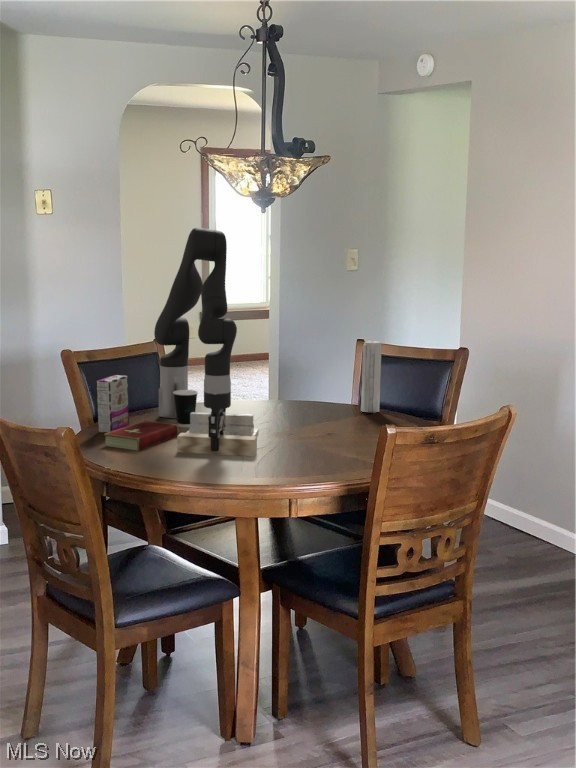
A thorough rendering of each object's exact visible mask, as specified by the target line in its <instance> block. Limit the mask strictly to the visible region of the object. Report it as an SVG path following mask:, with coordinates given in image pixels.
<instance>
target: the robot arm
mask: <svg viewBox="0 0 576 768" xmlns="http://www.w3.org/2000/svg"><path fill="white" fill-rule="evenodd" d="M227 246H228V245H227V237H226V235H225V233H224V232H223V231H220V230H216V229H212V228H211V229H209V228H204V227H194V228H192V229H191V231H190V232H189V234H188V237H187V240H186V244H185V246H184V251H183V255H182V259H181V262H180V266H179V268H178V270H177V274H176V275H175V278H174V280H173V282H172V285H171V289H170V291H169V294H168V297H167V300H166V303H165V304H164V307H163V309H162V311H161V312H160V315H159V316H158V318H157V321H156V323H155V327H154V331H153V332H154V334H153V335H154V339H155V342H156V343H157V344H158V345H161V346H164V347H165V346H166V347H167V346H175V347H174V348H173V350H172V351H170V352H168V353H167V354H164V355H162V356H160V359H159V378H160V380H159V383H160V384H159V386H160V387H159V388H158V417H159V418H160V417H162V418H165V419H166V418H168V419H177V416H176V407H175V399H174V394H173V392H174V391H177V390H189V384H188V383H189V381H188V380H189V369H188V368H189V367H188V365H189V363H188V362H189V354H190V353H189V349H190V347H189V346H190V325H189V322H188V319H187V318H186V317H182V316H184V315H185V314H187V313H188V312H190V311H191V310H192V309H193V308H194V307H195V306H196V305H197V304H198V302H199V300H200V299H201V307H202V311H201V312H202V313H201V318H200V322H199V324H198V330H197V336H198V339H199V341H200V342H201V343H202V344H204V345H222V347H221V348H220V349H218V350H217V351H212V352H209V353H208V352H207V354H206V355H205V356H204V378H203V407H204V408H207V409H210V410H211V412H210V413H211V414H209V417H208V420H209V434H208V436H209V437H210V438H211V451H218V450H219V435H224V432H223V431H224V430H225V427H226V425H225V422H226V413H227V411H226V410H227V409H228V408H230V407H231V405H232V400H231V399H232V396H231V395H232V381H231V355H232V351H233V347H234V343H235V341H236V337H237V332H238V327H237V324H236V322H235V321H234V320H233V319H231V318H224V316H226V315H227V314H228V302H227V301H228V300H227V291H226V272H227V254H228V253H227V252H228V251H227V249H228V247H227ZM197 260H199V261H204V262H205V261H206V262H213V263H214V267H213V268H212V271H211V272H210V273H209V275H208V276H207V278H206V279H205V280H204V282H203V279H202V277H201V275H200V273H199V271H198V268H197V266H196V261H197ZM213 430H215V431H216V433H213Z"/></svg>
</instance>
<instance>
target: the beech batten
mask: <svg viewBox="0 0 576 768" xmlns="http://www.w3.org/2000/svg"><path fill="white" fill-rule="evenodd" d="M176 437H177V438H176V442H177V443H176V444H177V447H176V448H177V451H176V452H177V453H187V454H202V455H204V454H205V455H218V456H219V455H221V456H240V457H241V456H242V457H255V456H256V455H257V452H258V436H257V437H255V436H235V435H219V450H218V451H211V438H210V437H209V436H208V434H197V433H186V432H180V433H178V436H176Z"/></svg>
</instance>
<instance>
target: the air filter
mask: <svg viewBox="0 0 576 768" xmlns="http://www.w3.org/2000/svg"><path fill="white" fill-rule="evenodd" d="M361 363H362V364H361V393H360V395H361V396H360V397H361V398H360V412H361V411H362V412H373V413H375V412H379V413H380V399H381V398H380V397H381V375H382V374H381V373H382V343H381V341H378V340H377V341H374V340H366V341H364V343H363V344H362V362H361ZM362 412H361V413H362Z"/></svg>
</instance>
